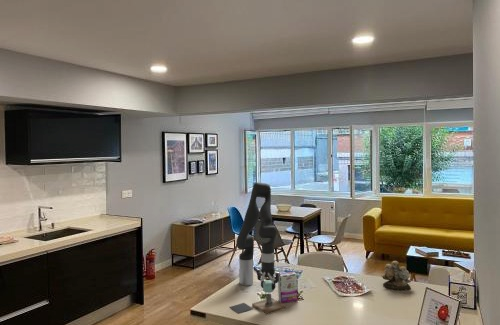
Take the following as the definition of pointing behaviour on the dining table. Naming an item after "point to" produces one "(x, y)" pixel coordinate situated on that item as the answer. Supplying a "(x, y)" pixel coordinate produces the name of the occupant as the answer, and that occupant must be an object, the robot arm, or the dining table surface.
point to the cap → (267, 286)
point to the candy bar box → (288, 287)
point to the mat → (241, 308)
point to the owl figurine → (396, 277)
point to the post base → (268, 305)
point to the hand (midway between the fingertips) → (268, 288)
